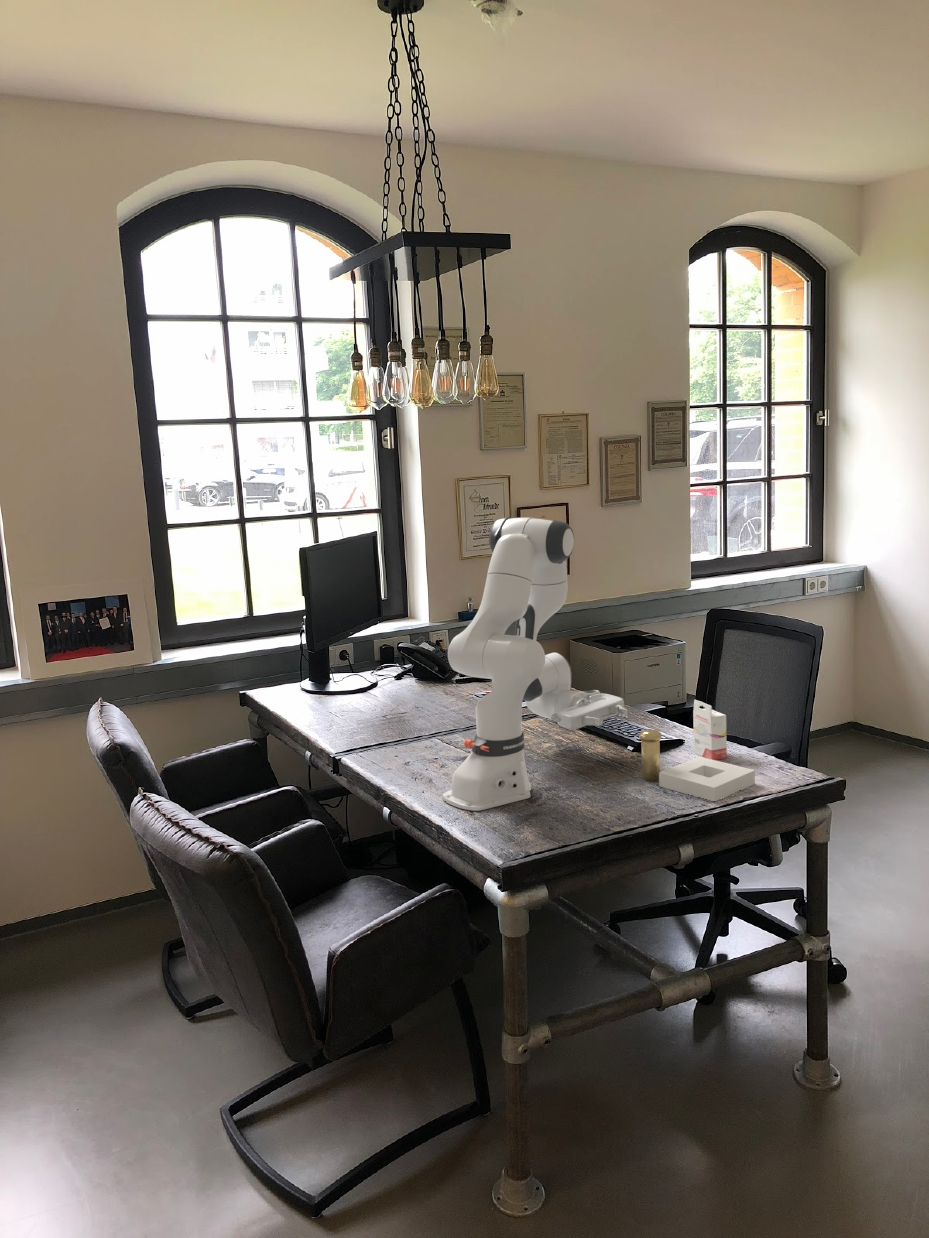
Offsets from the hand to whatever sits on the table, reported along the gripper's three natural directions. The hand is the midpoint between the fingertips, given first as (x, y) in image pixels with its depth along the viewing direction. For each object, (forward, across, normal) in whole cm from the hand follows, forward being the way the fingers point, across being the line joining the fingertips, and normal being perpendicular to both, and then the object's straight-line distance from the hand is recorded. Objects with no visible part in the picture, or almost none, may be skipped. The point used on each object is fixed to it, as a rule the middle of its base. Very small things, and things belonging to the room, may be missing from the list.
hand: (613, 717), depth 251 cm
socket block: (+25, +4, +13) cm, 29 cm away
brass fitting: (+12, -1, +13) cm, 18 cm away
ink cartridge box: (+12, +23, +14) cm, 30 cm away
